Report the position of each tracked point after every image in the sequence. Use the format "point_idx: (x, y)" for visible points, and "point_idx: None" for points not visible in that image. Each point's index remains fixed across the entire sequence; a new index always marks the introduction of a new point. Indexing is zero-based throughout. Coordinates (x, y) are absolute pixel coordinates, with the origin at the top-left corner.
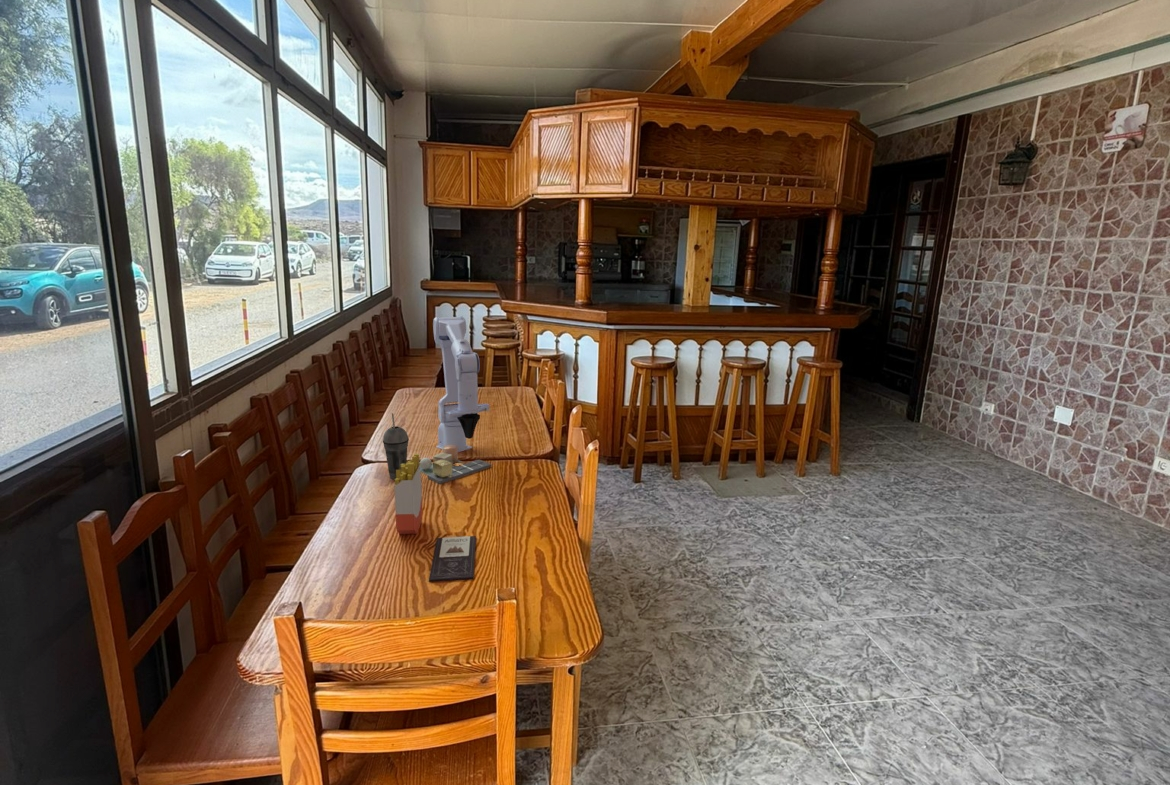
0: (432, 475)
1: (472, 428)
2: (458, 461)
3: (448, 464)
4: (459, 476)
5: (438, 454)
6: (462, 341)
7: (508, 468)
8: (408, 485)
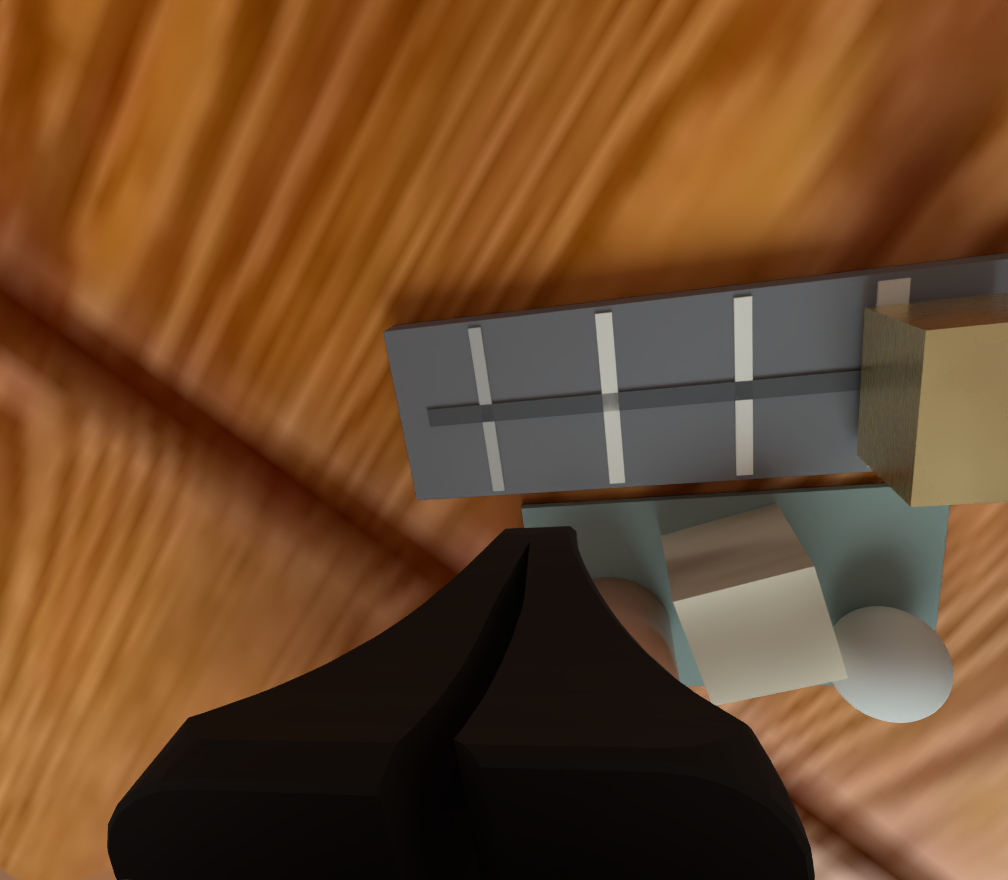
0: None
1: (496, 602)
2: None
3: (982, 322)
4: (779, 282)
5: (774, 685)
6: None
7: (273, 212)
8: None
